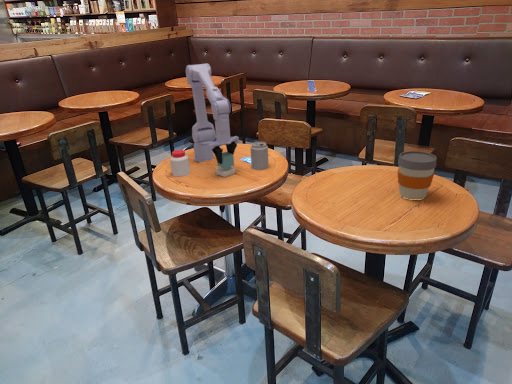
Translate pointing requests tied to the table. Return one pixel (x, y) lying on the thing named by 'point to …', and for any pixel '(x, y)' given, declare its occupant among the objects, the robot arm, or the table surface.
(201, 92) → the robot arm
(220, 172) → the top tile
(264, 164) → the can
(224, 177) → the bottom tile
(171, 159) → the pill bottle
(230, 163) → the cube
